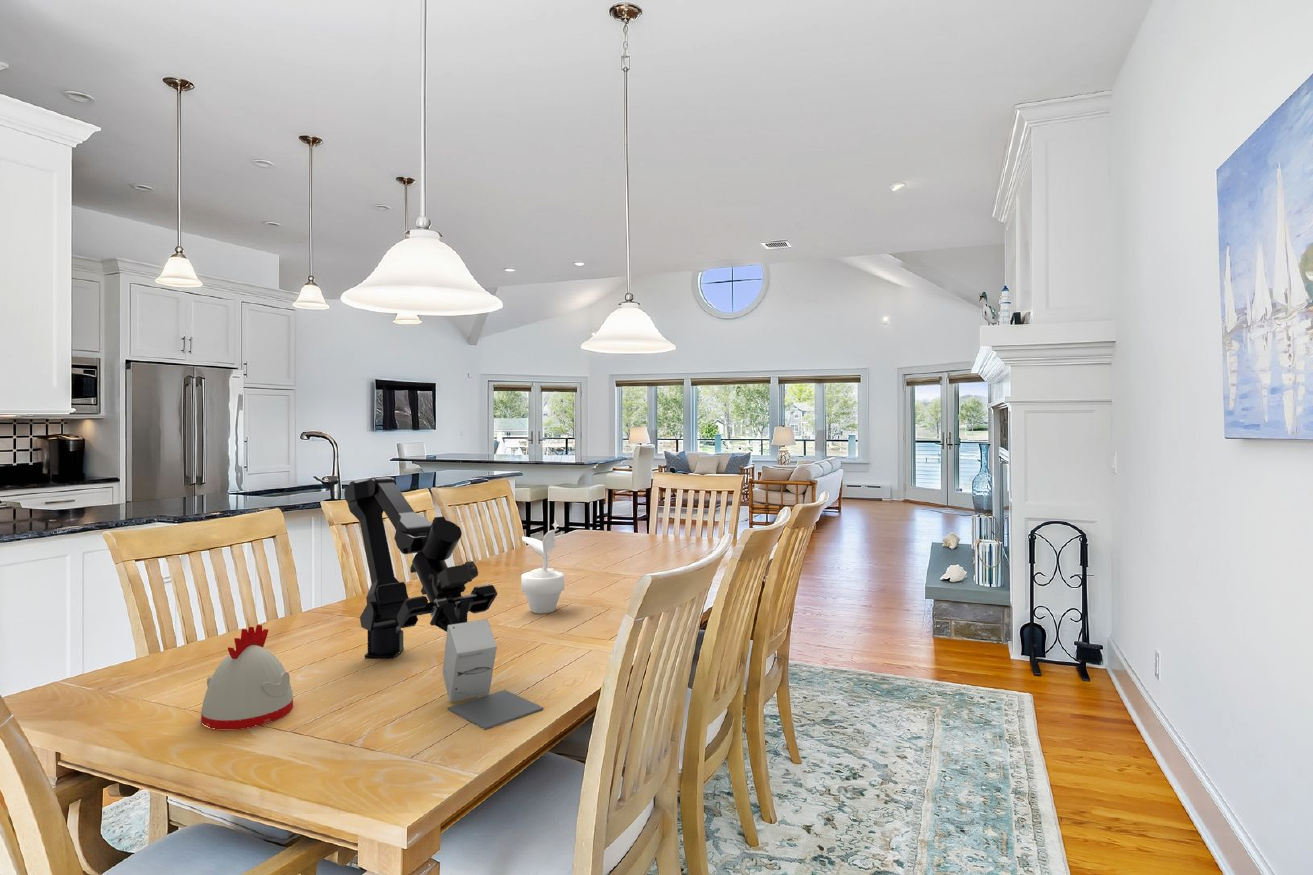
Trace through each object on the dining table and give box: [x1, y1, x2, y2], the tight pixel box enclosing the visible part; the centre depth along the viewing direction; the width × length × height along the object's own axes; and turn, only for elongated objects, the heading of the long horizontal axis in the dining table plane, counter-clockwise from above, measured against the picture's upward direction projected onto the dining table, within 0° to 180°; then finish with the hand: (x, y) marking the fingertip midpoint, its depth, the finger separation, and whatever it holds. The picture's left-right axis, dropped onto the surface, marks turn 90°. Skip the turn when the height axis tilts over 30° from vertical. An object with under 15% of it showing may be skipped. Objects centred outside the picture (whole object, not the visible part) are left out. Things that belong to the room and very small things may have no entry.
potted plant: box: [520, 518, 565, 615], centre depth 194 cm, size 13×12×25 cm
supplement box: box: [442, 618, 498, 703], centre depth 131 cm, size 7×7×13 cm
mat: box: [447, 689, 545, 730], centre depth 128 cm, size 12×12×1 cm
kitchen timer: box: [200, 624, 294, 730], centre depth 125 cm, size 14×14×15 cm
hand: (465, 641), depth 134 cm, fingers closed
